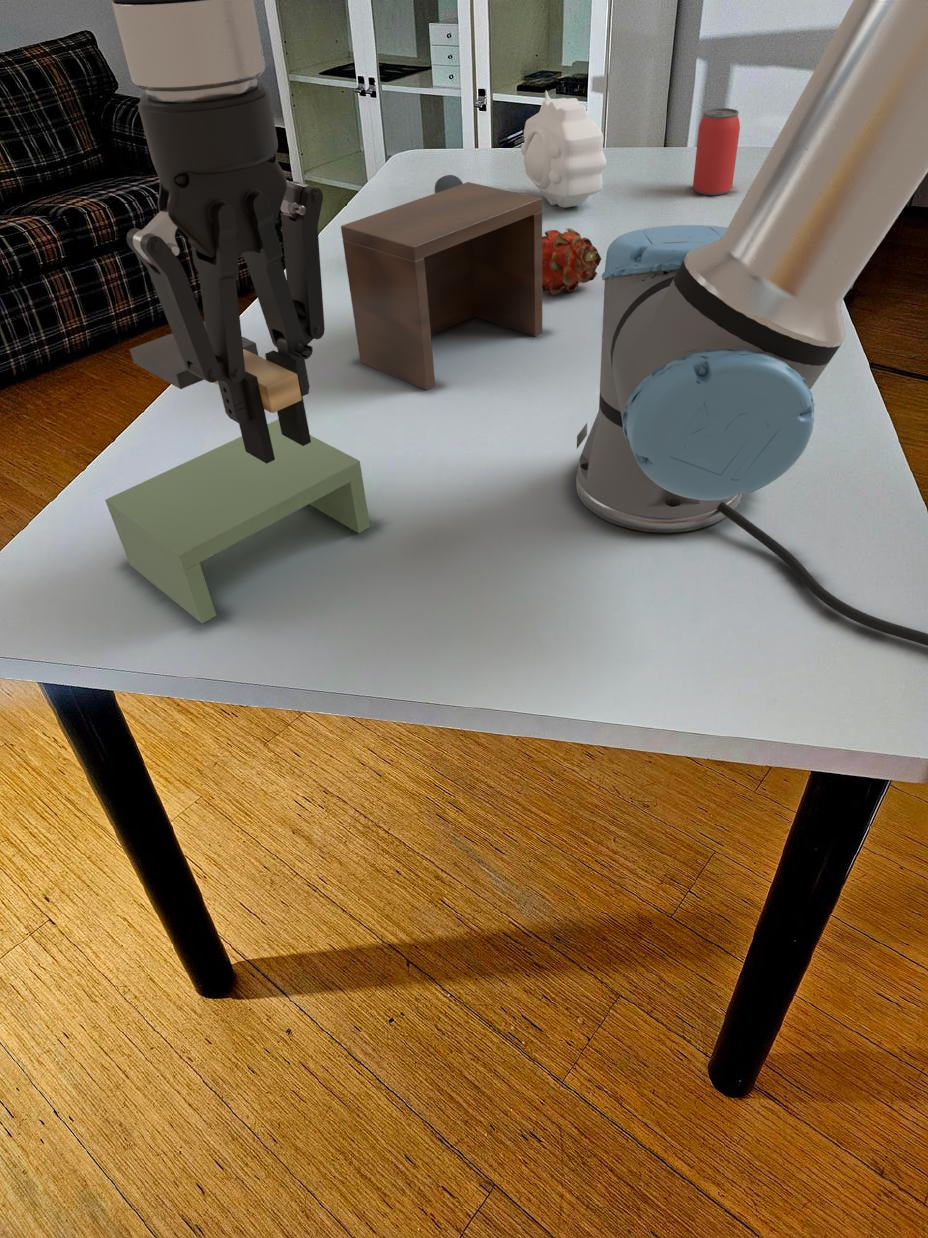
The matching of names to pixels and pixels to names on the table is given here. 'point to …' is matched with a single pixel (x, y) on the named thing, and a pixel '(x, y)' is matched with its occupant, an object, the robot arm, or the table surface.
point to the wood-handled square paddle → (168, 365)
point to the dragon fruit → (567, 260)
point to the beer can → (716, 151)
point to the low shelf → (229, 508)
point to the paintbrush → (447, 183)
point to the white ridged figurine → (563, 152)
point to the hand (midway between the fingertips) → (278, 446)
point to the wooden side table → (442, 273)
